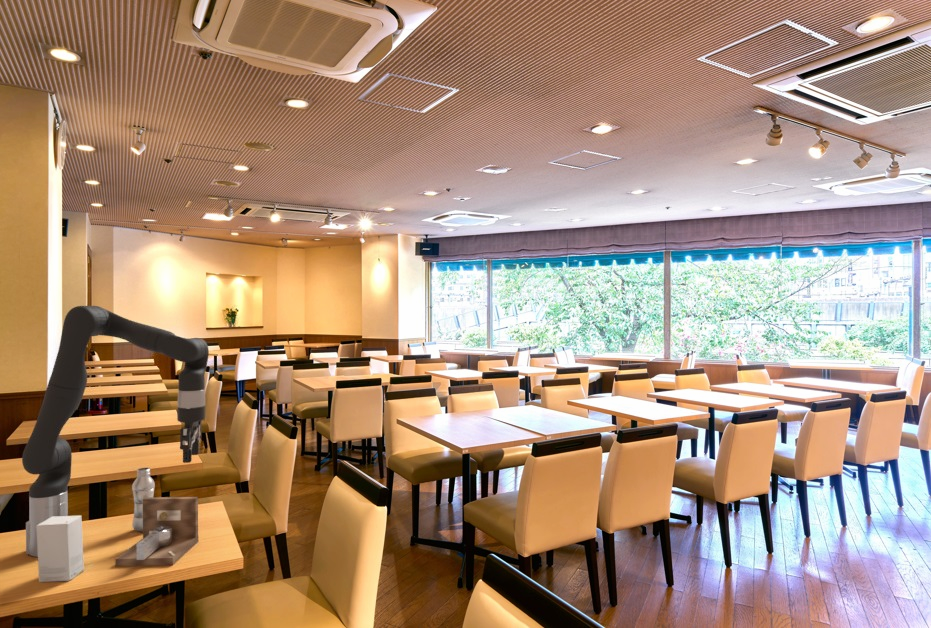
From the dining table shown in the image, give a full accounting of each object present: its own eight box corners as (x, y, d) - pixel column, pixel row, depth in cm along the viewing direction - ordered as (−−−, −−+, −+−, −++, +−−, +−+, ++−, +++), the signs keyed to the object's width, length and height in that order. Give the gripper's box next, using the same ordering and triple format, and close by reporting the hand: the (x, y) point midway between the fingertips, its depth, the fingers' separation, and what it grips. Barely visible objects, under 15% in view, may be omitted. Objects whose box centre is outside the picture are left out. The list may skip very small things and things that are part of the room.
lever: (155, 539, 170) (155, 522, 170) (175, 539, 170) (175, 522, 170) (129, 560, 156) (129, 542, 156) (151, 559, 156) (151, 541, 156)
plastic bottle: (145, 534, 180) (145, 472, 179) (127, 532, 181) (127, 471, 181) (160, 526, 186) (159, 466, 186) (142, 525, 187) (142, 465, 187)
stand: (115, 565, 158) (115, 516, 157) (146, 542, 174) (145, 497, 173) (173, 565, 158) (172, 515, 158) (198, 541, 174) (198, 496, 174)
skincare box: (84, 570, 155) (84, 514, 155) (68, 582, 148) (67, 523, 148) (53, 571, 154) (53, 515, 154) (35, 583, 148) (35, 524, 148)
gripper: (184, 401, 174) (184, 453, 174) (170, 409, 160) (170, 465, 161) (210, 400, 176) (209, 452, 176) (199, 408, 162) (198, 464, 162)
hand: (191, 458), depth 168 cm, fingers open, 8 cm apart
